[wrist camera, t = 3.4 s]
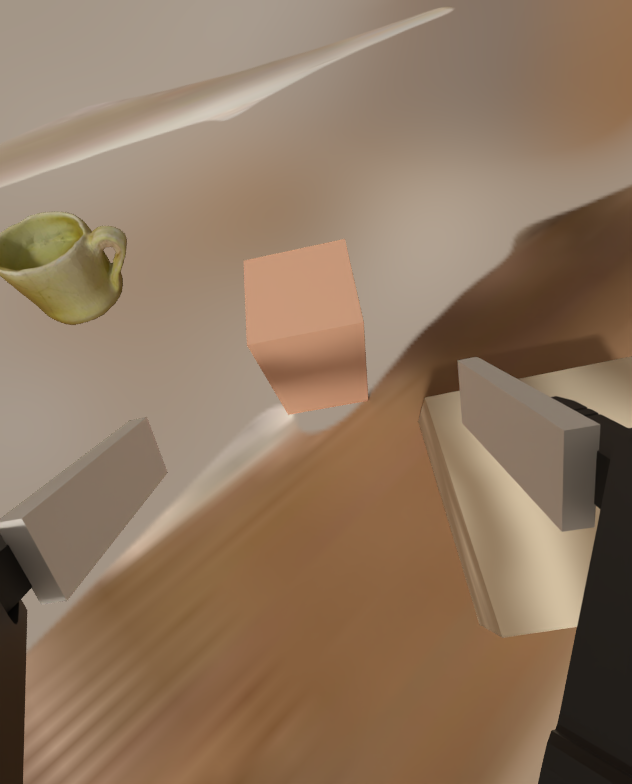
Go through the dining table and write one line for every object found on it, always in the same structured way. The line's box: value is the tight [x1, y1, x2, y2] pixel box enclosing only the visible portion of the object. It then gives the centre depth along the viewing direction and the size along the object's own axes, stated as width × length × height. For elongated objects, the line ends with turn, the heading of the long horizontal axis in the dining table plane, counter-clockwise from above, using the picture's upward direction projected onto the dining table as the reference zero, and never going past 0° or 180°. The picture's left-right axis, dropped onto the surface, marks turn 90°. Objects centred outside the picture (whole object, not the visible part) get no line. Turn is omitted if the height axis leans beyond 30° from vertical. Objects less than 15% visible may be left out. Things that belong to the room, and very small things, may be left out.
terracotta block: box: [244, 239, 368, 415], centre depth 27 cm, size 7×7×11 cm
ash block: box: [418, 356, 632, 638], centre depth 23 cm, size 14×14×5 cm
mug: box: [0, 212, 127, 325], centre depth 38 cm, size 12×10×10 cm
